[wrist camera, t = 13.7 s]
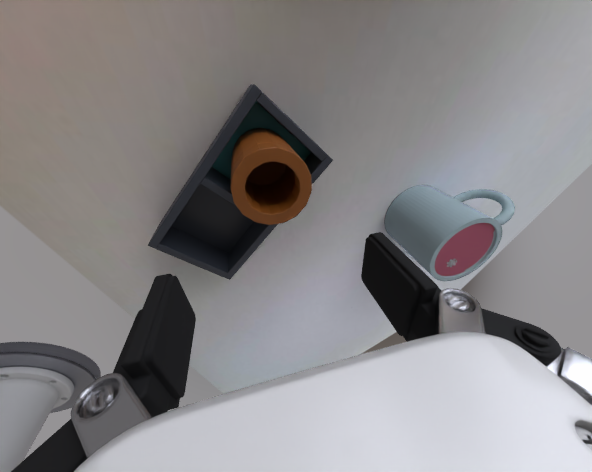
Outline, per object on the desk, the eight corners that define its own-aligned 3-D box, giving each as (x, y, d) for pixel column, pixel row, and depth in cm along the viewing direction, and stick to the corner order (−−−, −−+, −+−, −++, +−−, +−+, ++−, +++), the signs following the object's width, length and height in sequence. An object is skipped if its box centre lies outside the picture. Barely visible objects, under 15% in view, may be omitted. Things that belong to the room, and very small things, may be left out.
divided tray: (159, 222, 27) (147, 245, 23) (250, 84, 22) (254, 84, 18) (230, 256, 32) (229, 279, 28) (318, 149, 27) (333, 160, 23)
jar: (220, 163, 24) (214, 198, 17) (255, 113, 23) (265, 127, 15) (267, 195, 27) (278, 236, 20) (300, 154, 26) (327, 181, 18)
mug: (393, 248, 39) (436, 291, 30) (377, 207, 33) (423, 247, 25) (469, 203, 37) (536, 237, 29) (465, 153, 32) (545, 177, 23)
